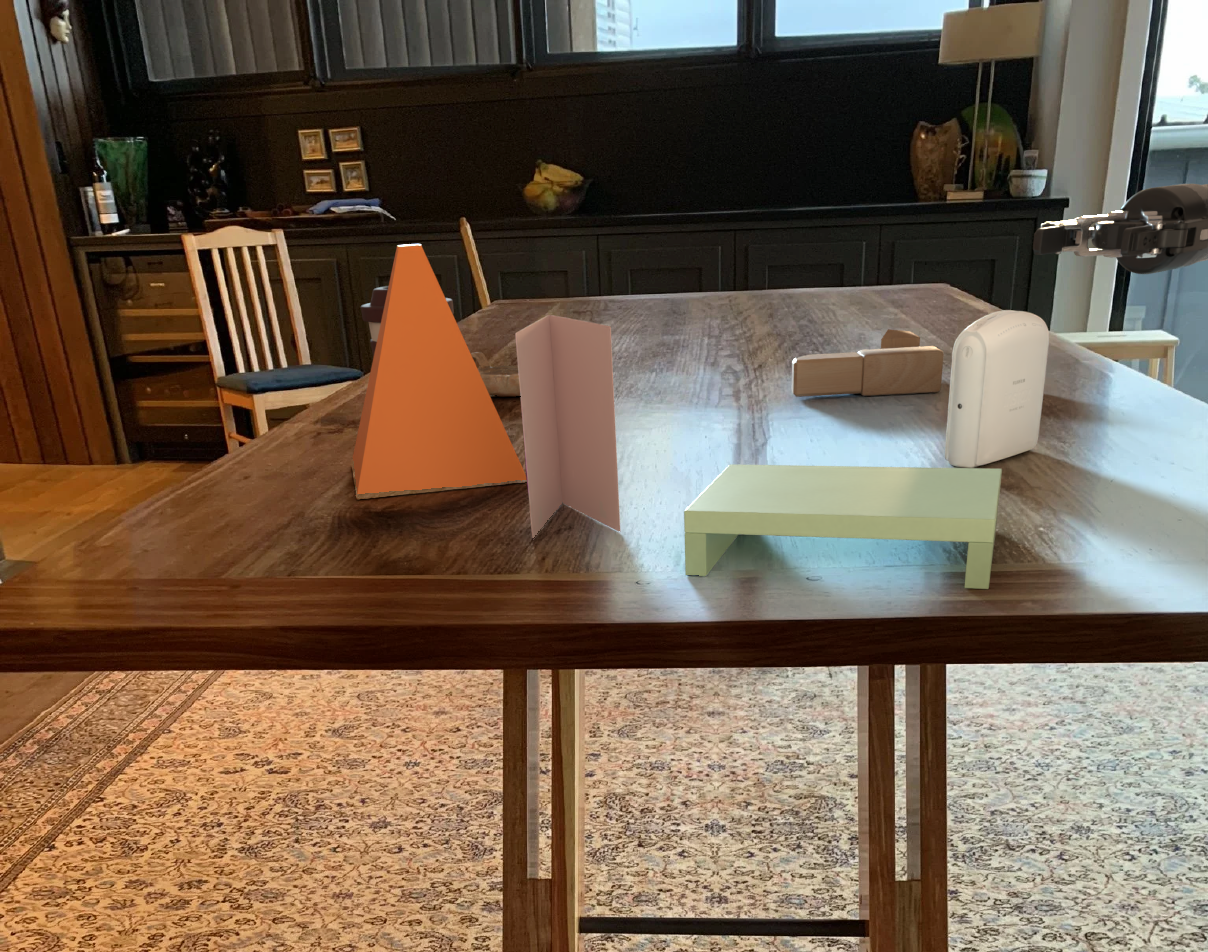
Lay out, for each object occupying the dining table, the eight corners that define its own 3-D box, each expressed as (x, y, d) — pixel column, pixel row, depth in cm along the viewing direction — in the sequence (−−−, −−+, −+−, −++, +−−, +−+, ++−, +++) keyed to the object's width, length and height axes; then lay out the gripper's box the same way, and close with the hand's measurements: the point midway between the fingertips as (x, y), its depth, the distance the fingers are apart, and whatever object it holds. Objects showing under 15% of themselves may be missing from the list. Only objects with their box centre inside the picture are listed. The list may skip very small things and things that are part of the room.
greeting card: (552, 502, 102) (538, 314, 95) (638, 501, 101) (630, 311, 94) (521, 540, 92) (503, 333, 85) (616, 539, 91) (605, 329, 84)
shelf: (995, 530, 88) (1002, 468, 86) (988, 589, 76) (995, 519, 74) (729, 522, 94) (729, 464, 92) (685, 575, 82) (683, 510, 80)
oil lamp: (560, 394, 152) (557, 353, 149) (515, 404, 147) (511, 361, 145) (496, 386, 160) (492, 347, 158) (451, 395, 156) (447, 355, 154)
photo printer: (976, 470, 104) (991, 319, 99) (936, 464, 107) (947, 316, 102) (1044, 450, 110) (1061, 305, 104) (1003, 444, 113) (1018, 303, 107)
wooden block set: (953, 341, 136) (794, 350, 137) (949, 393, 139) (793, 401, 139) (919, 323, 151) (777, 331, 152) (916, 370, 154) (776, 378, 154)
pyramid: (529, 482, 110) (509, 242, 100) (356, 500, 107) (319, 255, 98) (504, 449, 123) (485, 235, 114) (350, 464, 121) (318, 247, 111)
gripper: (1237, 271, 113) (1149, 290, 104) (1097, 268, 123) (1006, 285, 114) (1253, 182, 109) (1163, 193, 101) (1108, 186, 119) (1014, 196, 110)
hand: (1080, 242), depth 107 cm, fingers open, 8 cm apart
